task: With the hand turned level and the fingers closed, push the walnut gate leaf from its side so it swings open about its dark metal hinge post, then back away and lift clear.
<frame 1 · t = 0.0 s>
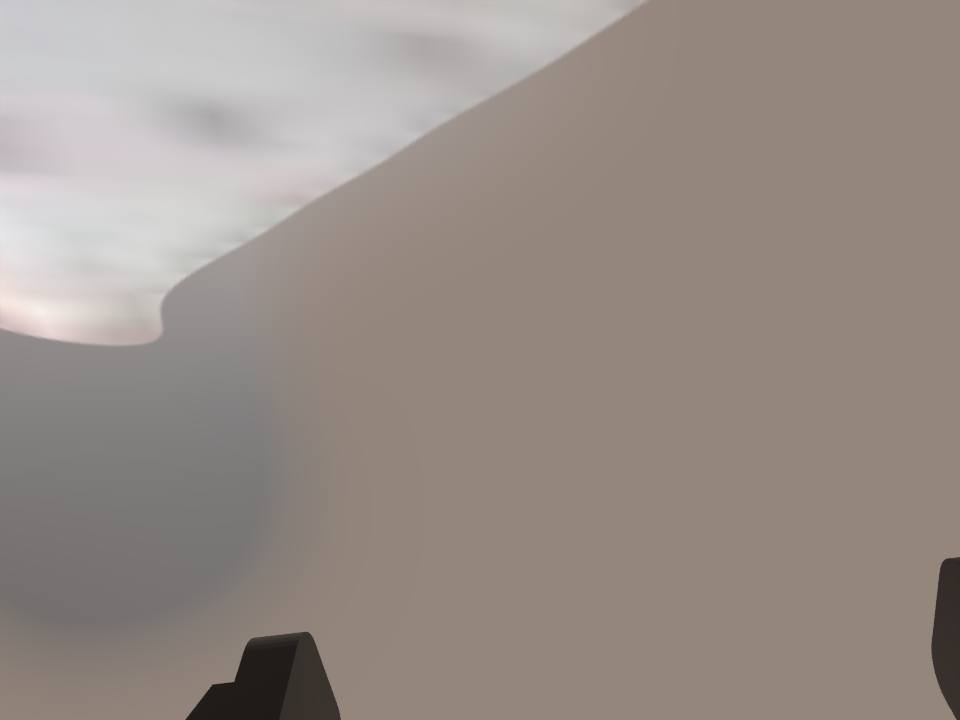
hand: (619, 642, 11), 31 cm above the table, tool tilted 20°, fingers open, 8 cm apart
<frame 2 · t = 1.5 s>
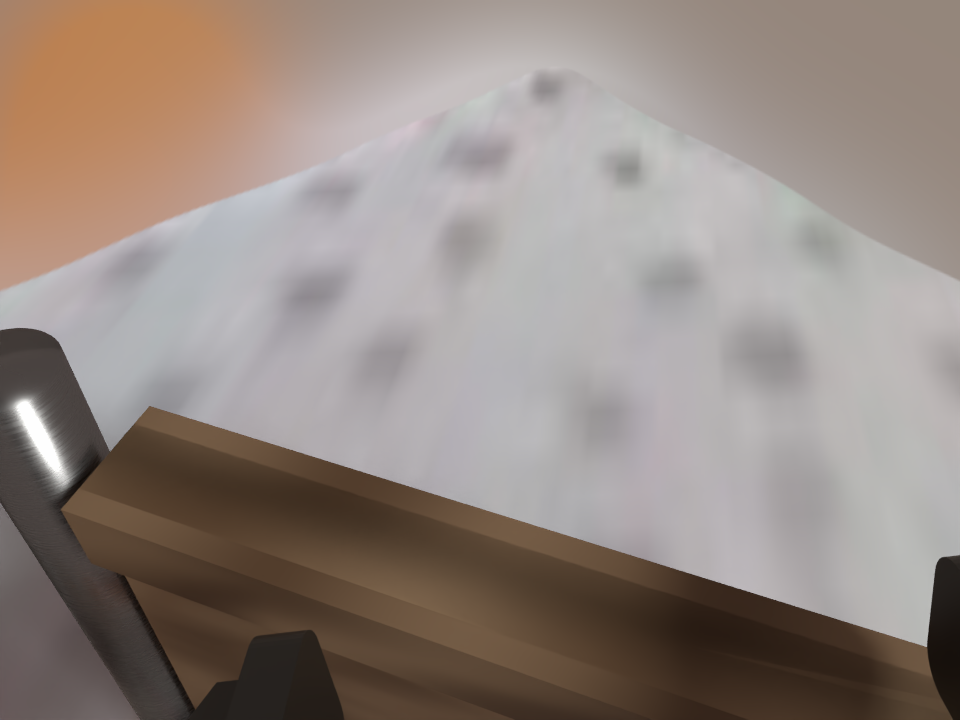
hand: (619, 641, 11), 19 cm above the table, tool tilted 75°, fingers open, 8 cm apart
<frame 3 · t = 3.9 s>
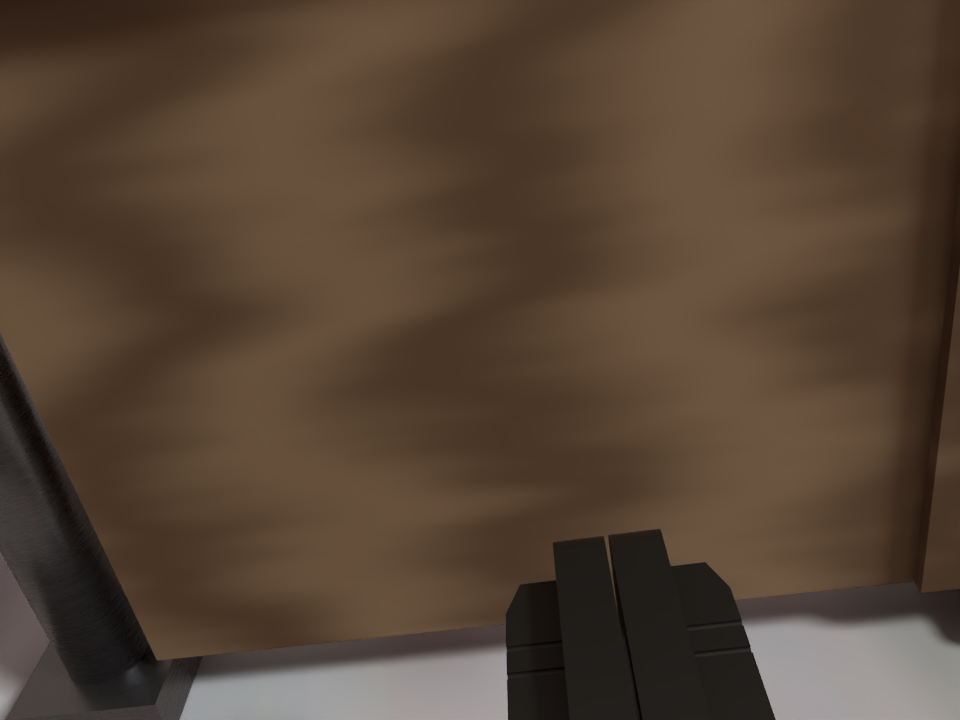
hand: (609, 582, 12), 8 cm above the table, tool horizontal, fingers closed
gate: (516, 286, 17), point 10 cm above the table, hinge at -0.3°
gate frame: (126, 684, 22), on the table
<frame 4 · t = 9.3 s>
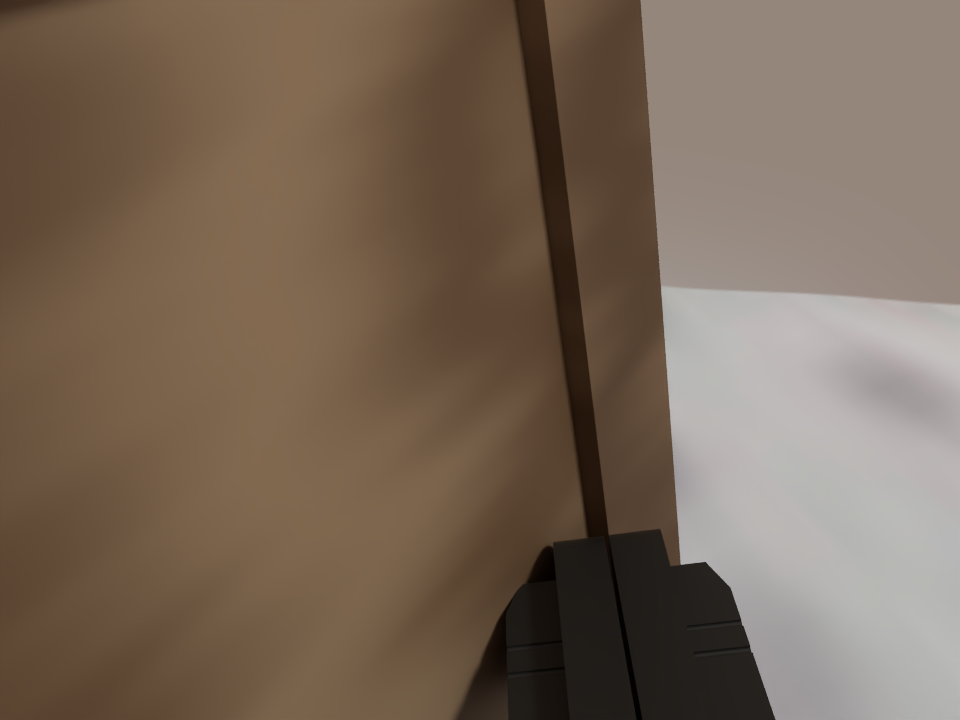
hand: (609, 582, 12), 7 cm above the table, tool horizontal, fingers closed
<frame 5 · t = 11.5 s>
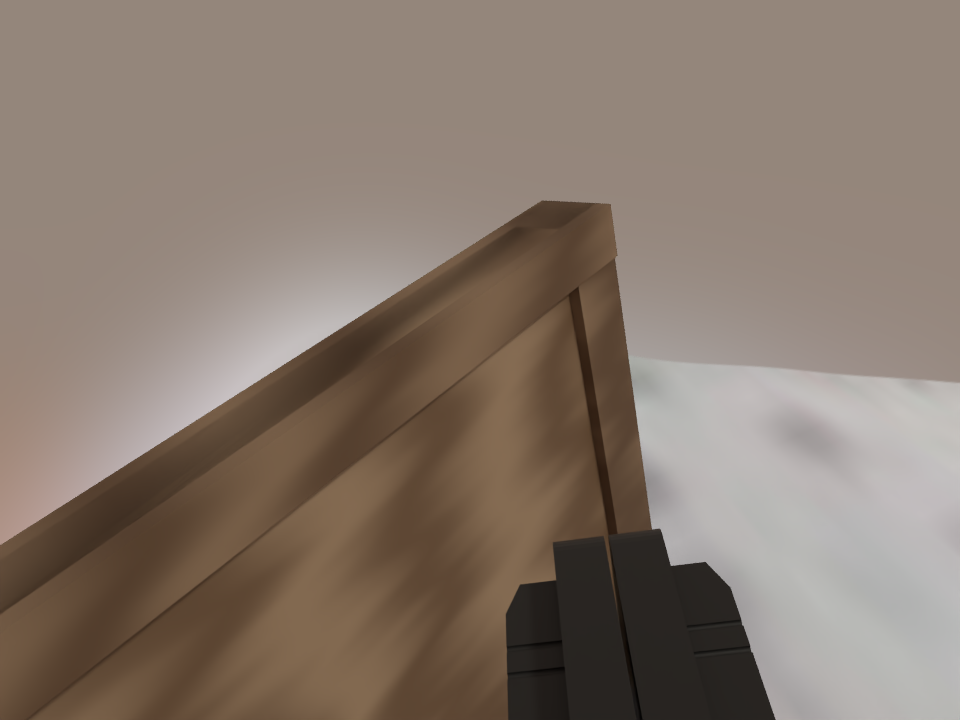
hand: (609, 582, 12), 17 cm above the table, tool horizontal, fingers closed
gate: (422, 620, 23), point 9 cm above the table, hinge at 52.7°
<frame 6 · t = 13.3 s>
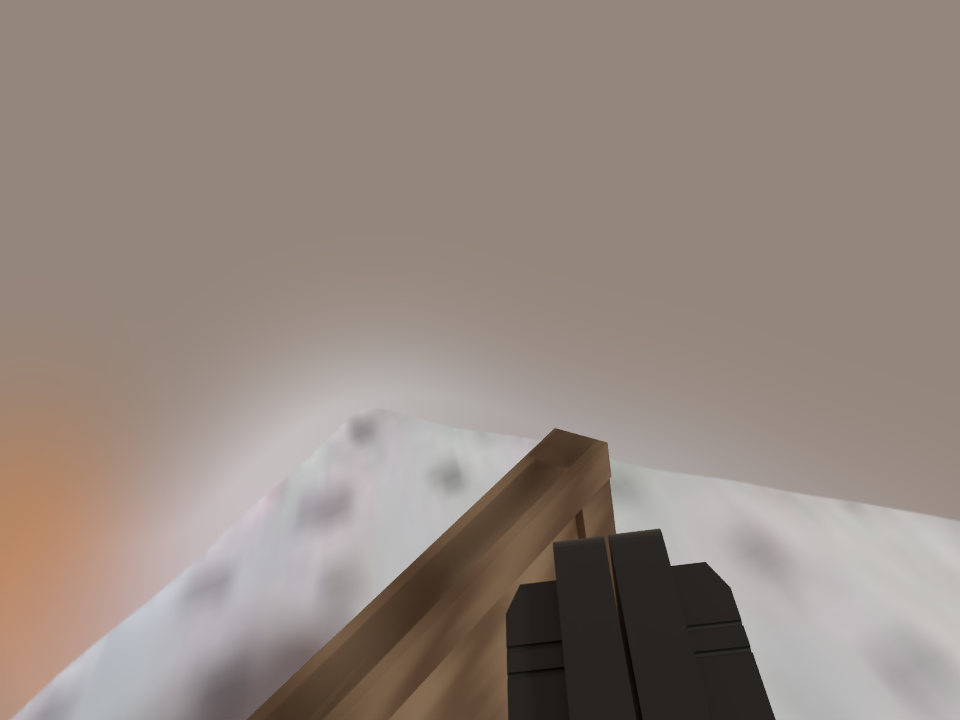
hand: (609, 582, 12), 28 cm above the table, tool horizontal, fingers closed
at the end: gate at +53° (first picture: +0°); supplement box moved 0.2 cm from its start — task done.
